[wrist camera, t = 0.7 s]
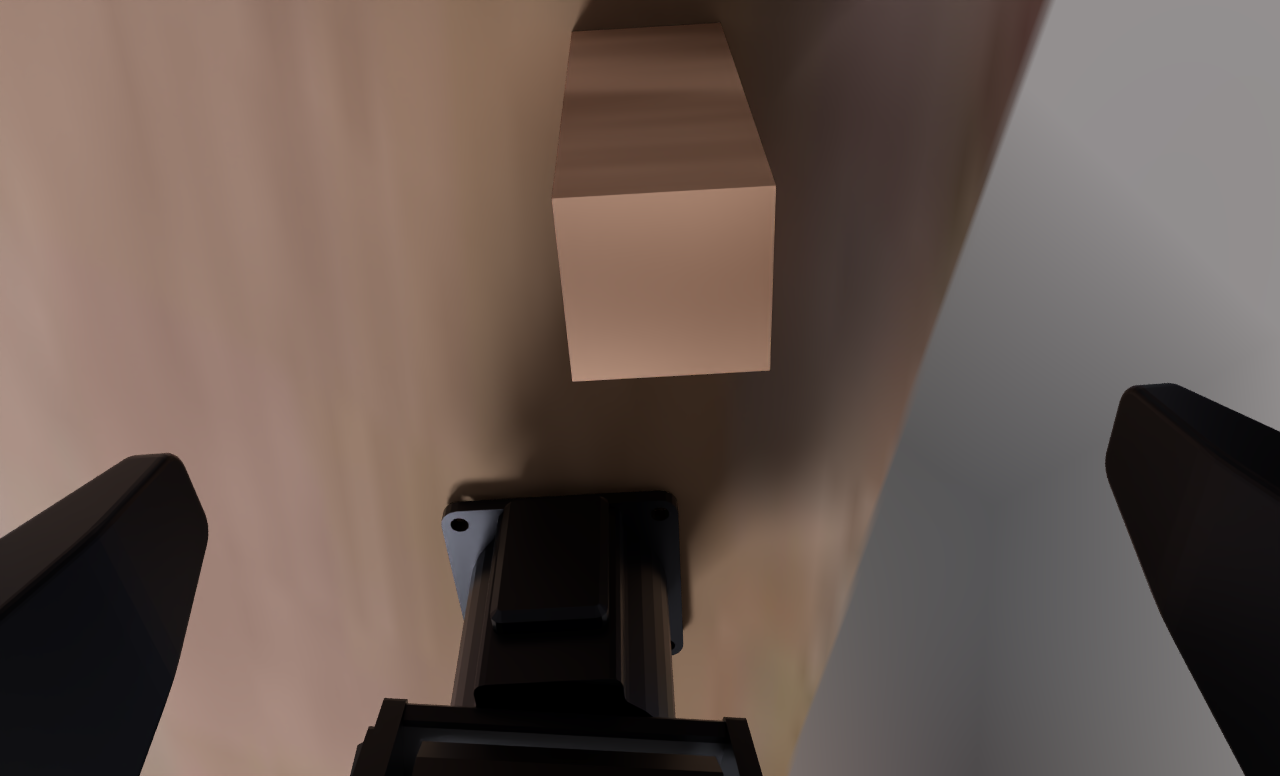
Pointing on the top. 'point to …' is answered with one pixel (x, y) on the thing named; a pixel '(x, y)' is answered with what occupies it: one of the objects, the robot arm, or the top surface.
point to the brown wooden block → (662, 208)
